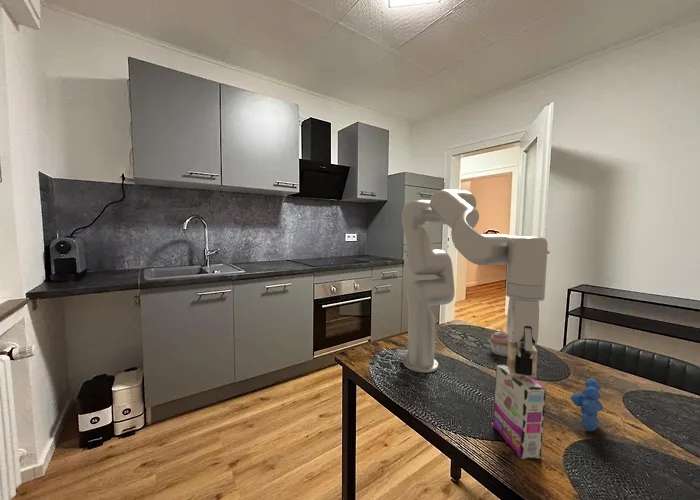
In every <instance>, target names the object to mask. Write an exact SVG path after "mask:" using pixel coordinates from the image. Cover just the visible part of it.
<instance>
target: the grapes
mask: <svg viewBox="0 0 700 500" xmlns="http://www.w3.org/2000/svg"><path fill="white" fill-rule="evenodd" d="M584 386H585V388H584V389H583V390H582V391H581V394H580V393H579V392H576V393H573V394H572V395H571V396H570V397H569V398H570V400H571V401H572V402H573V404H574V405H575V406H577V407H579V408H580V412H581V413H582V415H581V419H582V420H580V421H581V424H582V426H583V427H584V428H585V430H586V431H588V432H593V431H595V430H597V429H598V428H599V426H598V423H600V422H599V419H598V418H597V416H598V413H599V412H600V411H602V410H603V409H604V406H603V405H602V403H601V401H600V400H599V399H600V398H601V393H600V392H599V391H600V390H601V388H602V386H601V385H600V384H599V382H598V381H597V380H596V378H589V379H587V380H586V381H585V382H584Z"/></svg>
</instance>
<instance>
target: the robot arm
mask: <svg viewBox="0 0 700 500" xmlns="http://www.w3.org/2000/svg"><path fill="white" fill-rule="evenodd" d="M479 220H480V213H479V210H477V200H476V197H475V196H474V195H473V193H472V192H470V191H468V190H461V189H460V190H459V189H449V188H447V189H439V190H437V191H435V192H434V193H433V194H432V195H431V196H430V199H429V200H428V199H418V200H415V199H414V200H411V201H409V202H407V203H406V204H405V205H404V207H403V209H402V212H401V224H402V229H403V232H404V235H405V240H406V250H407V252H406V253H407V261H408V262H407V264H408V270H409V272H410V274H412V276H416V277H419V276H420V277H421V276H422V277H425V276H427V277H428V276H433V277H434V278H432V279H431V278H428V279H427V278H426V279H425V278H424V279H417V280H414V281H413V280H412V281H411V282H410V283H408V285H407V286H406V300H407V306H408V309H407V310H408V321H407V322H408V329H407V330H408V331H407V333H408V334H407V349H405V350H403V349H399V348H397V349H396V351H395V354H396V355H397V357H398V358H403V360H402V363H403V365H404V366H405V367H406V368H407V369H408V370H410V371H413V372H416V373H421V374H422V373H424V374H425V373H426V374H427V373H433V372H435V371H437V370H438V369H439V362H438V361H437V359H435V349H436V348H435V344H436V316H435V314H434V312H433V311H432V309H431V307H434V306H443V305H448V304H450V303H452V302H453V300H454V298H455V291H456V289H455V281H454V279H455V278H454V269H453V263H452V262H453V261H452V258H451V256H450V255H449V253H448V252H447V251H445V250H443V249H432V244H431V238H430V235H429V233H428V231H427V230H426V229H425V227H423V225H447V226H448V227H449V228H450V229H451V231H450V232H451V233H450V234H451V235H450V236H451V240H452V244H453V246H454V247H455V249H456V251H458V252H459V253H460V254H461V255H462V256H463V257H464V258H465V259H466V260H467V261H469V262H470V263H472V264H473V265H477V266H494V265H496V266H497V265H507V266H506V287H505V296H506V297H507V298H509V299H508V306H507V307H508V308H507V315H506V327H505V329H506V331H505V332H506V333H507V334H508V336H509V338H510V340H511V341H512V342H513V343H515V342H517V355H516V358H515V372H516V373H517V374H523V375H529V376H531V375H532V362H533V346H537V345H538V343H539V333H540V332H539V331H540V326H539V325H540V302H543V301H544V300H545V298H546V297H545V296H546V281H547V280H546V279H547V266H548V265H547V264H548V246H549V244H548V241H547V239H546V238H545V237H542V236H536V235H535V236H532V235H527V236H526V235H521V236H520V235H519V236H518V235H515V234H501V233H500V234H496V233H493V234H492V233H487V234H485V233H484V234H482V233H480V232H478V231H477V230H475V229H474V228H475V227H476V226H477V225H478V222H479ZM523 342H524V343H523ZM521 345H522V346H524V348H522V349H521Z"/></svg>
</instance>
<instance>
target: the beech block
mask: <svg viewBox="0 0 700 500" xmlns="http://www.w3.org/2000/svg"><path fill="white" fill-rule="evenodd" d="M523 343H524V342H523ZM522 348H524V346H522V345H521V349H522ZM516 355H517V342H515V343H513V342H512V341H511V340H508V353H507V356H506V357H507V359H506V365H507V366H508V369H509V371H510V374H516V375H522V376H528V377H534V378H536V376H537V372H536V369H537V363H538V362H537V361H538V350H537V349H536V347H534V346H533V362H532V375H531V376H529V375H523V374H517V373H516V372H515V358H516Z"/></svg>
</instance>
